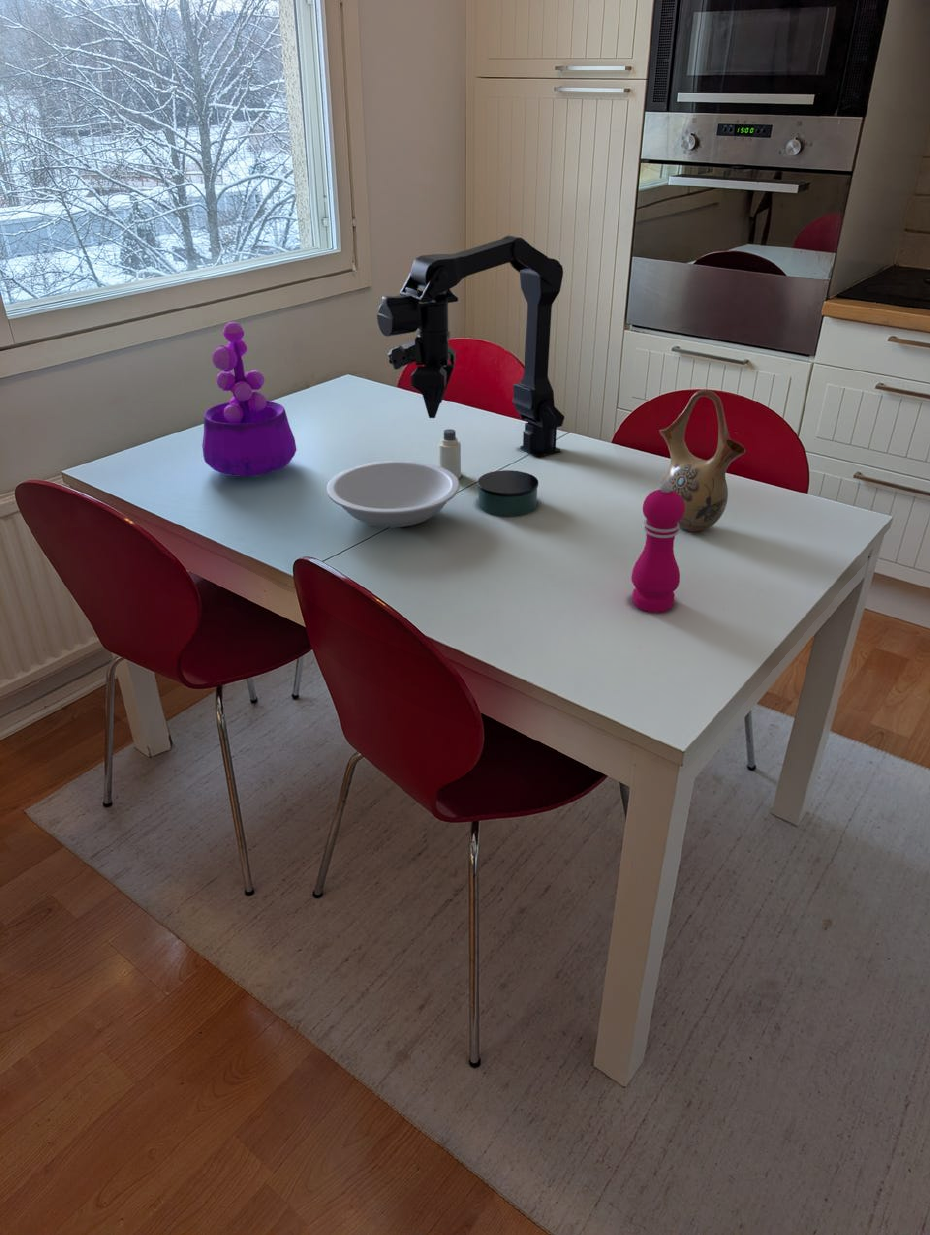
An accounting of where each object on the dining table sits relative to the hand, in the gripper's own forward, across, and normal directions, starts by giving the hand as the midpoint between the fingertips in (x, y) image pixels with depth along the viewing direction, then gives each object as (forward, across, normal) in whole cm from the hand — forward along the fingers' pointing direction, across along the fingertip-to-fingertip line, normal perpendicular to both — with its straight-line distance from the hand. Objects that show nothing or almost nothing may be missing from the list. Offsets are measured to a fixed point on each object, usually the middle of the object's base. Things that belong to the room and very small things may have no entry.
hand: (435, 410), depth 174 cm
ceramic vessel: (+14, +20, +48) cm, 54 cm away
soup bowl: (+14, +21, -5) cm, 25 cm away
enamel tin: (+14, +12, +15) cm, 24 cm away
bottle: (+14, 0, +3) cm, 14 cm away
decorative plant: (+14, 0, -39) cm, 41 cm away
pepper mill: (+14, +48, +40) cm, 64 cm away
